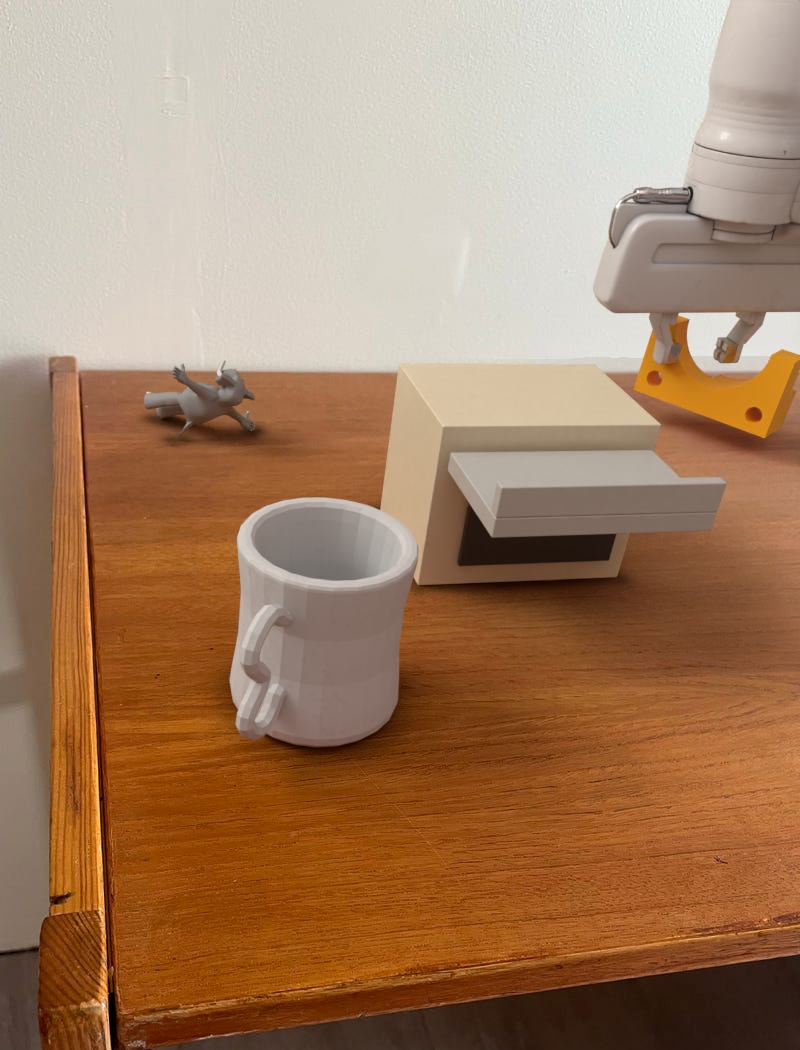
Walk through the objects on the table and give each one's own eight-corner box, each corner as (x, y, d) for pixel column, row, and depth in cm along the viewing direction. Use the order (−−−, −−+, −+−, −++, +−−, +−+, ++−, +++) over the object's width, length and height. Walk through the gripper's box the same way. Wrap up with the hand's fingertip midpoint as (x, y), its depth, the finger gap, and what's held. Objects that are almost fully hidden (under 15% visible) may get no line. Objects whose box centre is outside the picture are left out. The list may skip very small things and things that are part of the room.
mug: (281, 631, 61) (292, 478, 55) (422, 684, 58) (450, 528, 52) (159, 749, 52) (157, 580, 46) (320, 819, 49) (340, 648, 43)
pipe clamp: (781, 426, 88) (812, 353, 84) (764, 438, 85) (795, 362, 82) (653, 380, 94) (676, 309, 90) (633, 389, 91) (656, 316, 87)
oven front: (560, 506, 77) (596, 358, 70) (677, 652, 62) (736, 482, 56) (379, 510, 74) (399, 356, 68) (457, 665, 60) (492, 487, 53)
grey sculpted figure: (200, 400, 88) (285, 391, 83) (185, 466, 87) (269, 461, 82) (118, 343, 80) (206, 329, 75) (100, 414, 79) (188, 405, 74)
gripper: (636, 196, 76) (596, 377, 84) (881, 200, 79) (820, 373, 87) (601, 177, 81) (566, 350, 89) (833, 181, 84) (780, 347, 92)
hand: (694, 361), depth 88 cm, fingers closed on pipe clamp, 4 cm apart
